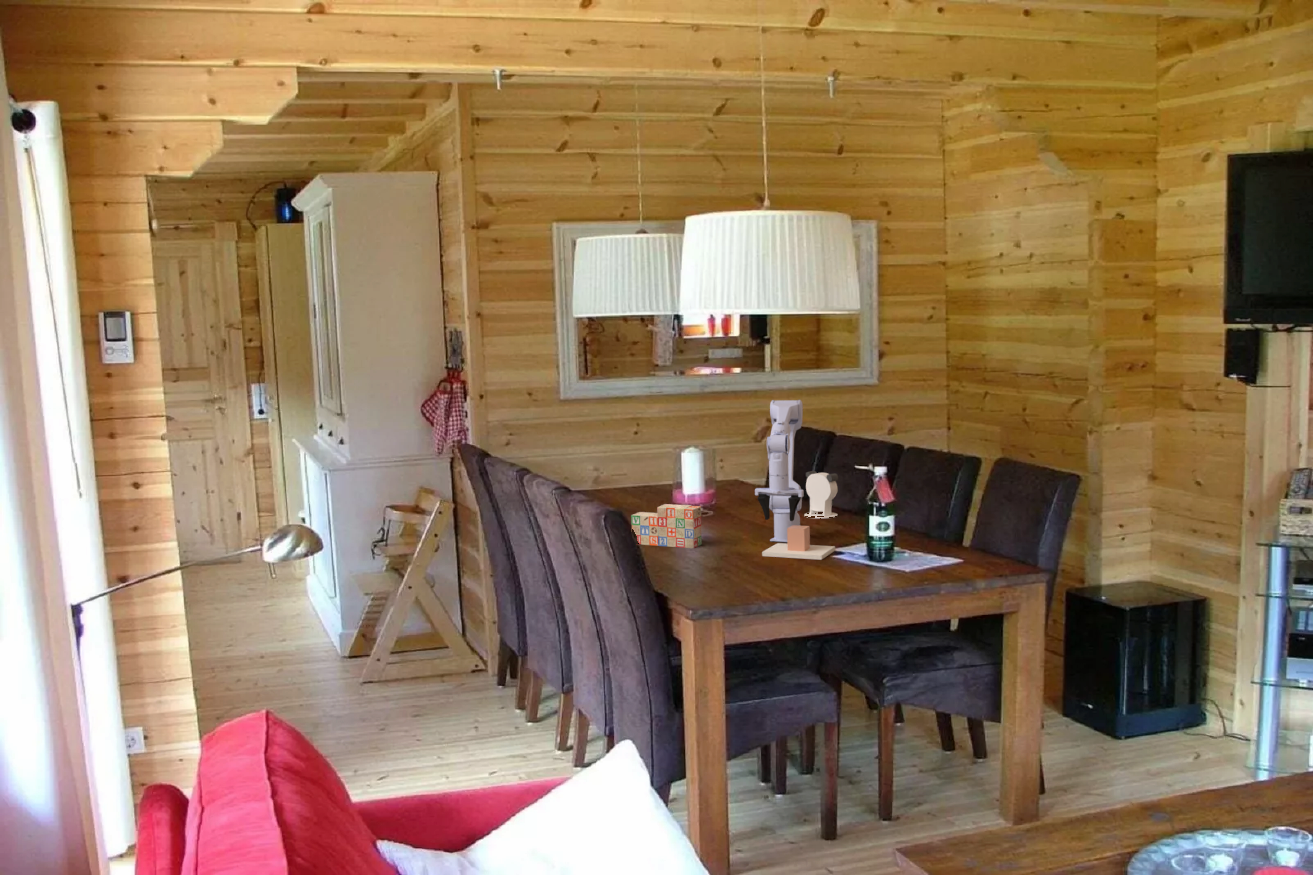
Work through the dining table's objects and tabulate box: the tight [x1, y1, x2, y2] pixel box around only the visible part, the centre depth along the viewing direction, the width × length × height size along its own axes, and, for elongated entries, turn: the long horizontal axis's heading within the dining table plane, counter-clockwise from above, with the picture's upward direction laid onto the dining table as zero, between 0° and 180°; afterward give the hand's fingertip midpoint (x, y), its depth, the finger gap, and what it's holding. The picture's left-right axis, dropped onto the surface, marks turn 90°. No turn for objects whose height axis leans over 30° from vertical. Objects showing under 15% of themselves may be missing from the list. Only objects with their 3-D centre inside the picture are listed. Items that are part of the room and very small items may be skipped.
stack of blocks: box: [630, 503, 703, 549], centre depth 391 cm, size 21×6×12 cm, turn 64°
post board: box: [761, 542, 836, 561], centre depth 372 cm, size 14×18×7 cm
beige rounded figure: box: [804, 470, 839, 519], centre depth 434 cm, size 12×11×15 cm
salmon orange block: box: [786, 525, 811, 551], centre depth 372 cm, size 5×5×7 cm
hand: (779, 519), depth 376 cm, fingers open, 7 cm apart
